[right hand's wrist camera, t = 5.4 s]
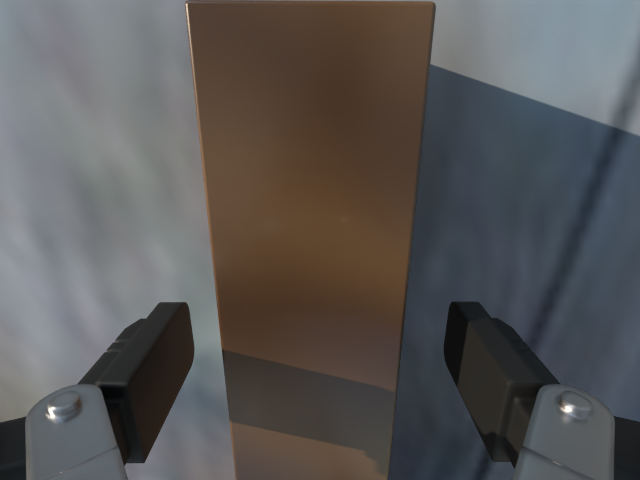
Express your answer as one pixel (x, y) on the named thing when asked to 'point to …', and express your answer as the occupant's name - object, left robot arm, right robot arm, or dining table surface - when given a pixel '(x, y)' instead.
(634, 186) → the dining table surface
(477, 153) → the dining table surface
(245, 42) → the post
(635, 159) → the dining table surface
